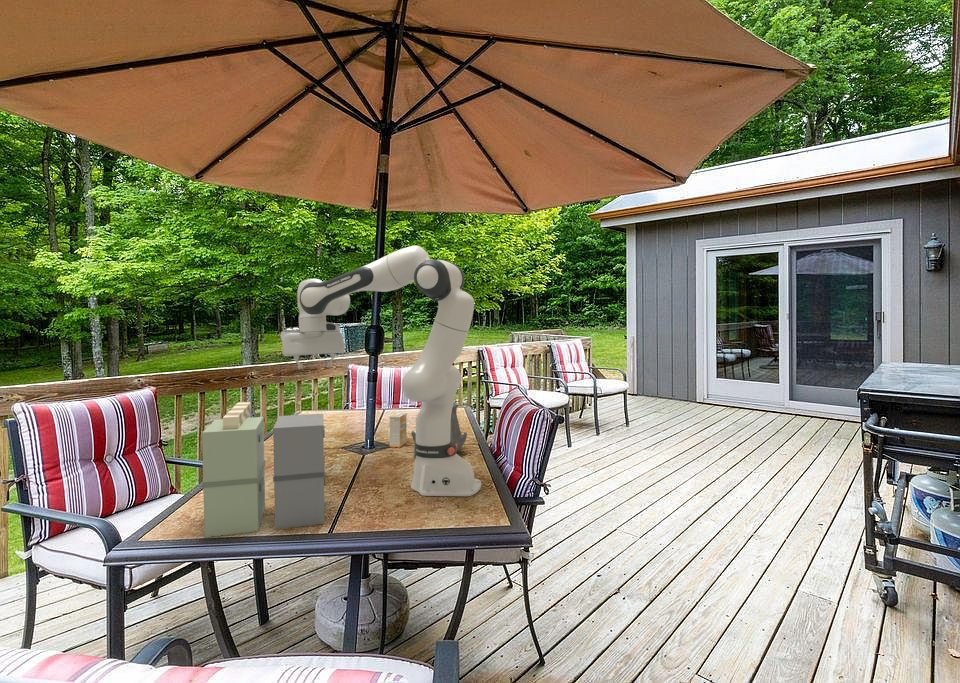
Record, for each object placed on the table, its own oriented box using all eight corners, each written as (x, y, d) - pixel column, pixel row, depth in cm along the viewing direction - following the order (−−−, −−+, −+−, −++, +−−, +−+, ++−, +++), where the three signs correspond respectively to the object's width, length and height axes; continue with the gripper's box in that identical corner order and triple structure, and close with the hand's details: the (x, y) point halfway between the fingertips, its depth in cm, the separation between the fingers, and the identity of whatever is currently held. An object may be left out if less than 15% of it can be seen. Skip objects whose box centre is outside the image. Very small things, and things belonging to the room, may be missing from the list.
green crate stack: (217, 512, 136) (214, 419, 135) (266, 507, 140) (264, 416, 139) (203, 538, 121) (200, 432, 119) (259, 531, 125) (257, 429, 123)
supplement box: (400, 448, 204) (400, 416, 204) (389, 447, 205) (389, 416, 205) (407, 443, 212) (407, 412, 212) (396, 442, 213) (396, 412, 213)
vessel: (462, 444, 210) (462, 397, 209) (469, 459, 188) (469, 407, 187) (411, 446, 207) (411, 399, 206) (411, 461, 185) (411, 408, 184)
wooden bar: (238, 412, 145) (238, 402, 145) (251, 411, 146) (251, 401, 146) (223, 429, 123) (222, 417, 123) (238, 428, 124) (238, 416, 124)
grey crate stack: (279, 506, 141) (277, 416, 140) (325, 501, 145) (324, 413, 144) (273, 529, 126) (271, 428, 124) (325, 523, 129) (324, 425, 128)
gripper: (279, 328, 162) (281, 370, 161) (343, 325, 168) (346, 365, 167) (281, 329, 168) (283, 370, 167) (343, 326, 174) (345, 365, 173)
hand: (315, 368), depth 167 cm, fingers open, 8 cm apart
